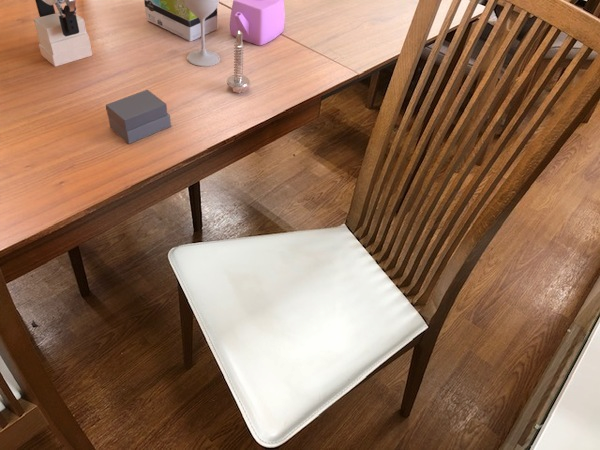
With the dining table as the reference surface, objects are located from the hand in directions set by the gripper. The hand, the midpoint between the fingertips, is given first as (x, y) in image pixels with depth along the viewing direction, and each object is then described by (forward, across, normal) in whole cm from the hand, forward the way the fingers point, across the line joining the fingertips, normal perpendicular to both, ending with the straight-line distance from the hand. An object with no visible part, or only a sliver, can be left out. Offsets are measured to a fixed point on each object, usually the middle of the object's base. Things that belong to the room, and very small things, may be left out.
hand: (59, 25), depth 104 cm
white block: (+2, 0, 0) cm, 2 cm away
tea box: (+7, +2, +29) cm, 30 cm away
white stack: (+7, 0, 0) cm, 7 cm away
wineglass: (+7, +18, +23) cm, 30 cm away
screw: (+7, +32, +21) cm, 39 cm away
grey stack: (+7, +31, -2) cm, 32 cm away
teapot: (+7, +15, +41) cm, 45 cm away
